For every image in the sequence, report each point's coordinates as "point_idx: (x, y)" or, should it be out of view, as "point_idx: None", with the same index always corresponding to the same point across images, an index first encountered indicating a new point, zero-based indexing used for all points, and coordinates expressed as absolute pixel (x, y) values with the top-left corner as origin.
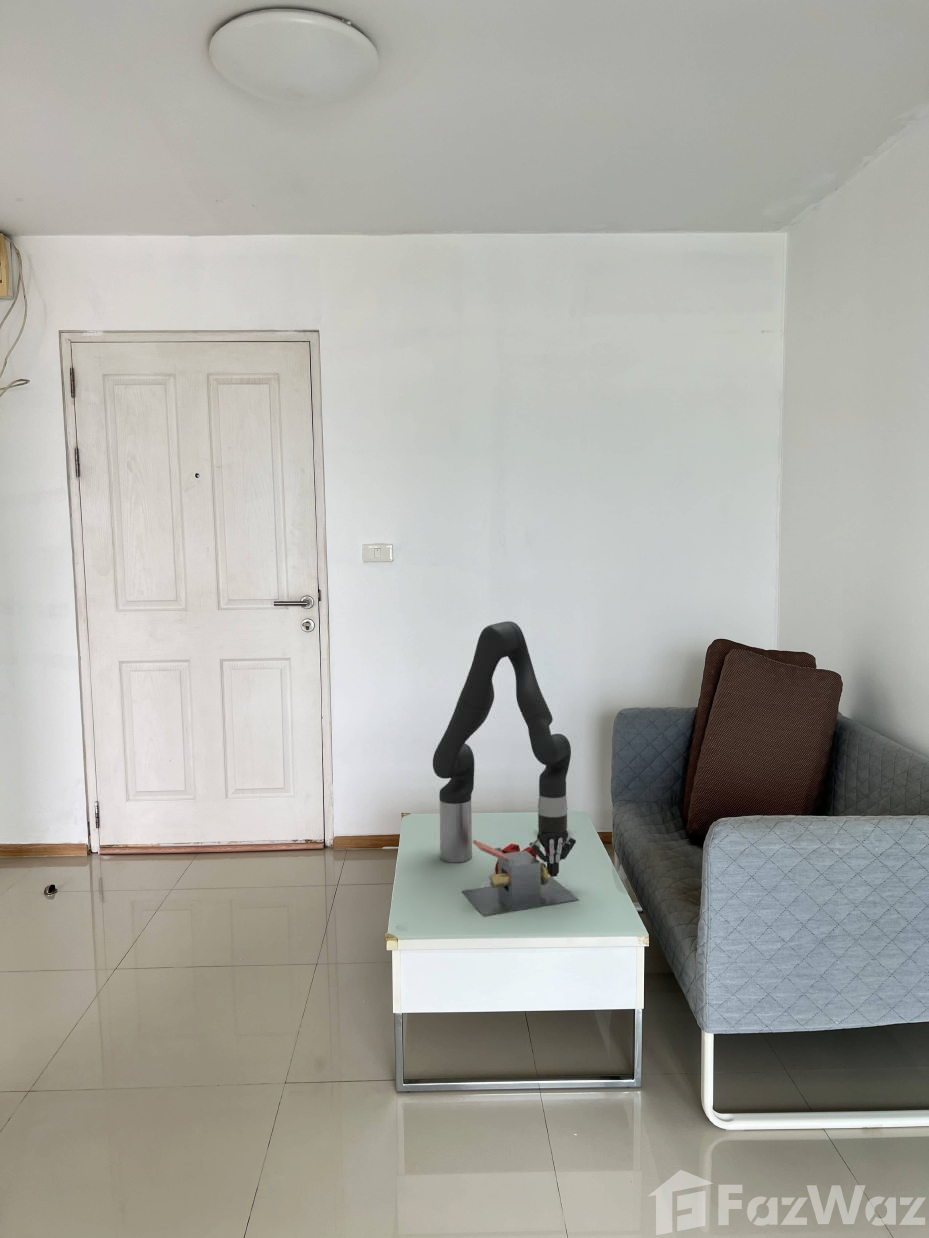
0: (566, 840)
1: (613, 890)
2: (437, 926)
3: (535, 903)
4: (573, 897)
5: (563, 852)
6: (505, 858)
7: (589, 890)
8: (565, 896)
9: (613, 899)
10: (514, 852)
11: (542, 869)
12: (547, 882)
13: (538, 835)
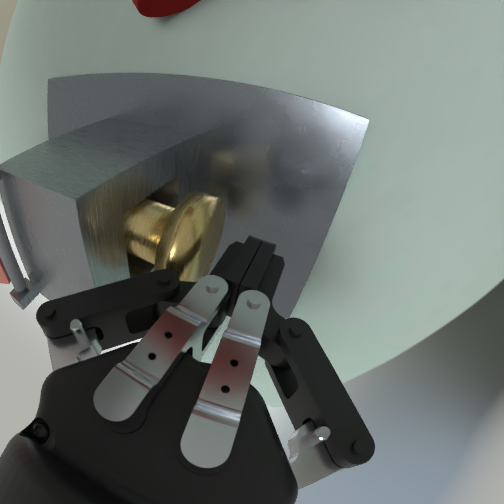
0: (292, 452)
1: (417, 338)
2: None
3: None
4: (284, 304)
5: (276, 380)
6: (3, 281)
7: (375, 301)
8: None
9: (363, 360)
10: (31, 185)
11: None
12: (210, 265)
13: (48, 396)
